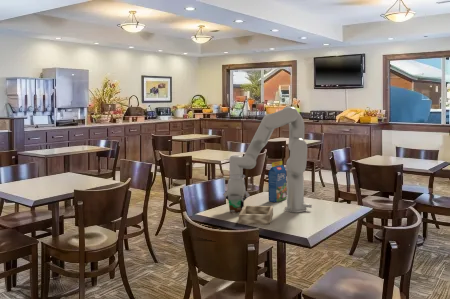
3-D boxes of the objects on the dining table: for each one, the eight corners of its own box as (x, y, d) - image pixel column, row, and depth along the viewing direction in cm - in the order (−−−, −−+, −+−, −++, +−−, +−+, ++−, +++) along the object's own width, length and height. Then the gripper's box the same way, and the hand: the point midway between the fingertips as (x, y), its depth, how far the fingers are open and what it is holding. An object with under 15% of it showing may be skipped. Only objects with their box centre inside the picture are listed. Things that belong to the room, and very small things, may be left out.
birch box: (273, 214, 242) (272, 206, 242) (269, 224, 223) (269, 215, 222) (244, 214, 245) (244, 205, 245) (239, 223, 226) (239, 214, 225)
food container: (237, 214, 245) (237, 197, 244) (228, 213, 248) (227, 196, 247) (247, 209, 256) (247, 192, 255) (238, 208, 259) (237, 192, 258)
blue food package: (268, 201, 276) (267, 162, 273) (278, 198, 285) (278, 160, 282) (276, 202, 272) (276, 163, 269) (286, 199, 281) (286, 160, 278)
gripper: (251, 176, 252) (251, 206, 254) (222, 175, 255) (223, 205, 257) (250, 178, 245) (250, 209, 247) (220, 177, 248) (220, 208, 250)
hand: (236, 207), depth 252 cm, fingers closed on food container, 5 cm apart
